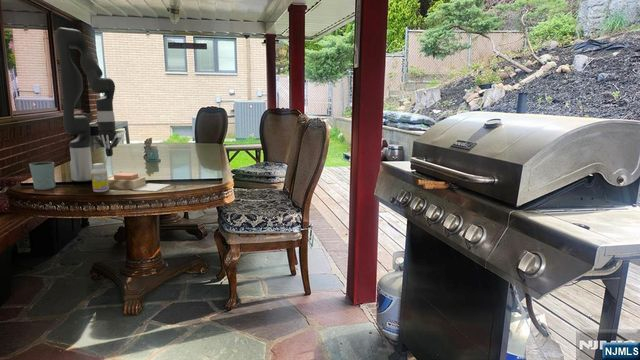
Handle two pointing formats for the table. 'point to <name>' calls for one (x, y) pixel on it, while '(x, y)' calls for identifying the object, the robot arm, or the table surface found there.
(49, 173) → the pale teal cup
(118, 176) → the orange brown flat block
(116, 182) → the deck
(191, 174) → the table surface
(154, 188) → the mat
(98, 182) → the supplement bottle
